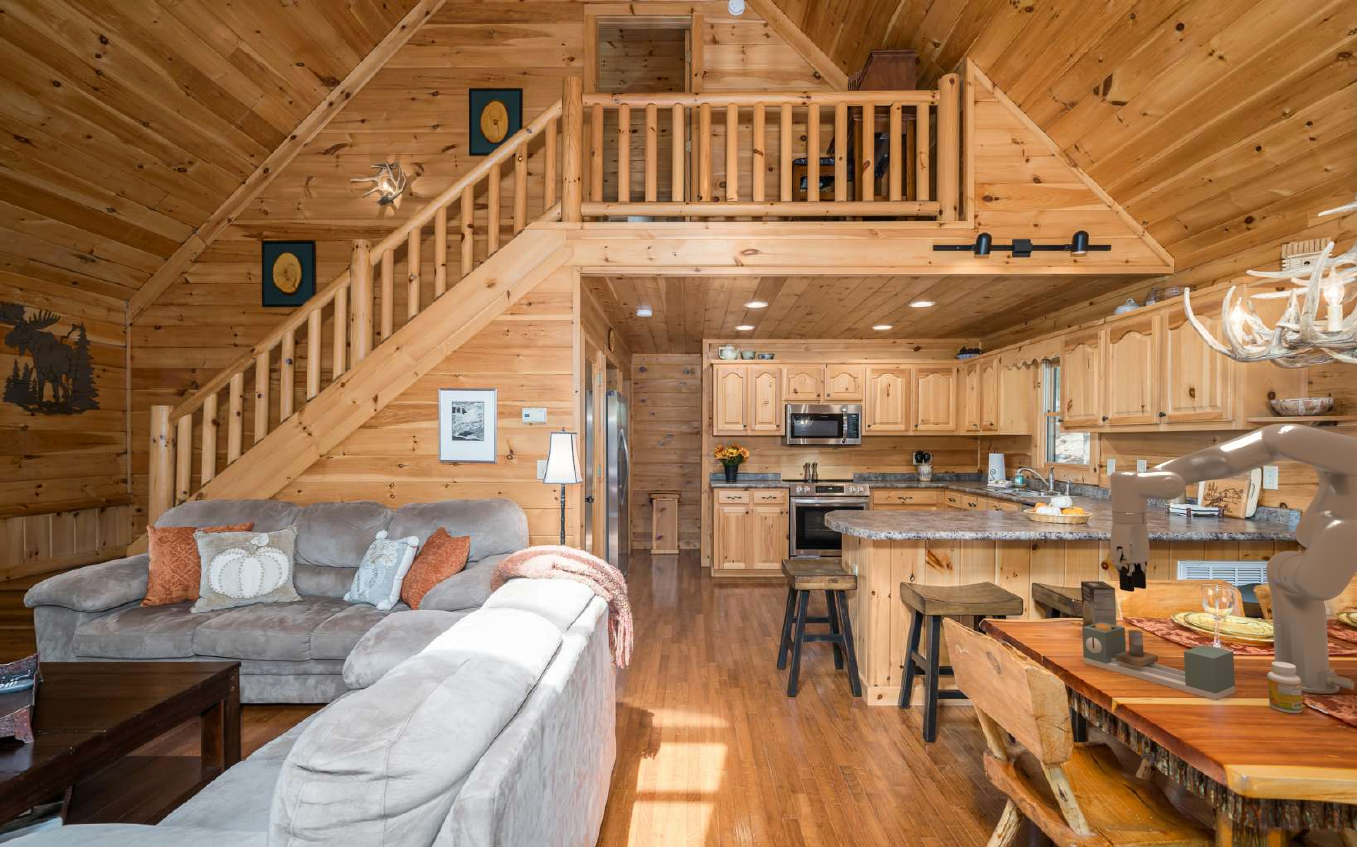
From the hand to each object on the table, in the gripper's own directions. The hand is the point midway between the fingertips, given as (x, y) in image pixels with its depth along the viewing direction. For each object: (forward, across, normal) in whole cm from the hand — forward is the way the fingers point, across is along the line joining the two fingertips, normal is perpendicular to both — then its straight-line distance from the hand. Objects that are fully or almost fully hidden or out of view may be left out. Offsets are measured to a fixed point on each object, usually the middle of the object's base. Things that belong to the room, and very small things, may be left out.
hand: (1133, 588), depth 170 cm
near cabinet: (+20, 0, +16) cm, 25 cm away
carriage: (+19, 0, 0) cm, 19 cm away
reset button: (+15, 0, -8) cm, 17 cm away
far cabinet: (+20, 0, -8) cm, 21 cm away
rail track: (+21, 0, +4) cm, 22 cm away
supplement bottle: (+22, -2, +29) cm, 36 cm away
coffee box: (+22, -20, -21) cm, 36 cm away
